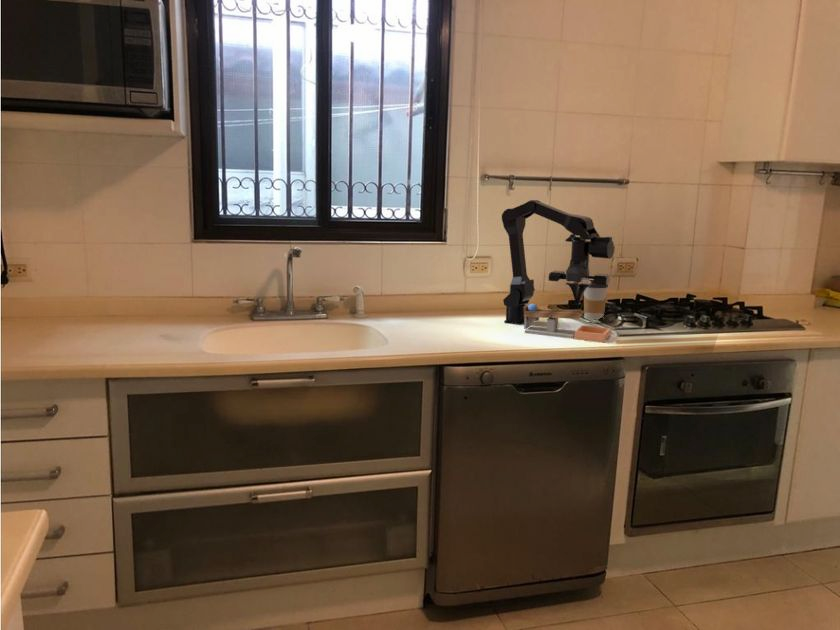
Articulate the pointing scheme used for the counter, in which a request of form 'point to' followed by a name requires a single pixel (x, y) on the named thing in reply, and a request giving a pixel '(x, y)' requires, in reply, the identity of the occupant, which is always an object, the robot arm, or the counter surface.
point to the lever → (551, 314)
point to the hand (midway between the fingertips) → (577, 303)
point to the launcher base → (548, 329)
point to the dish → (592, 333)
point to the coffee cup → (594, 301)
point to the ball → (532, 307)
